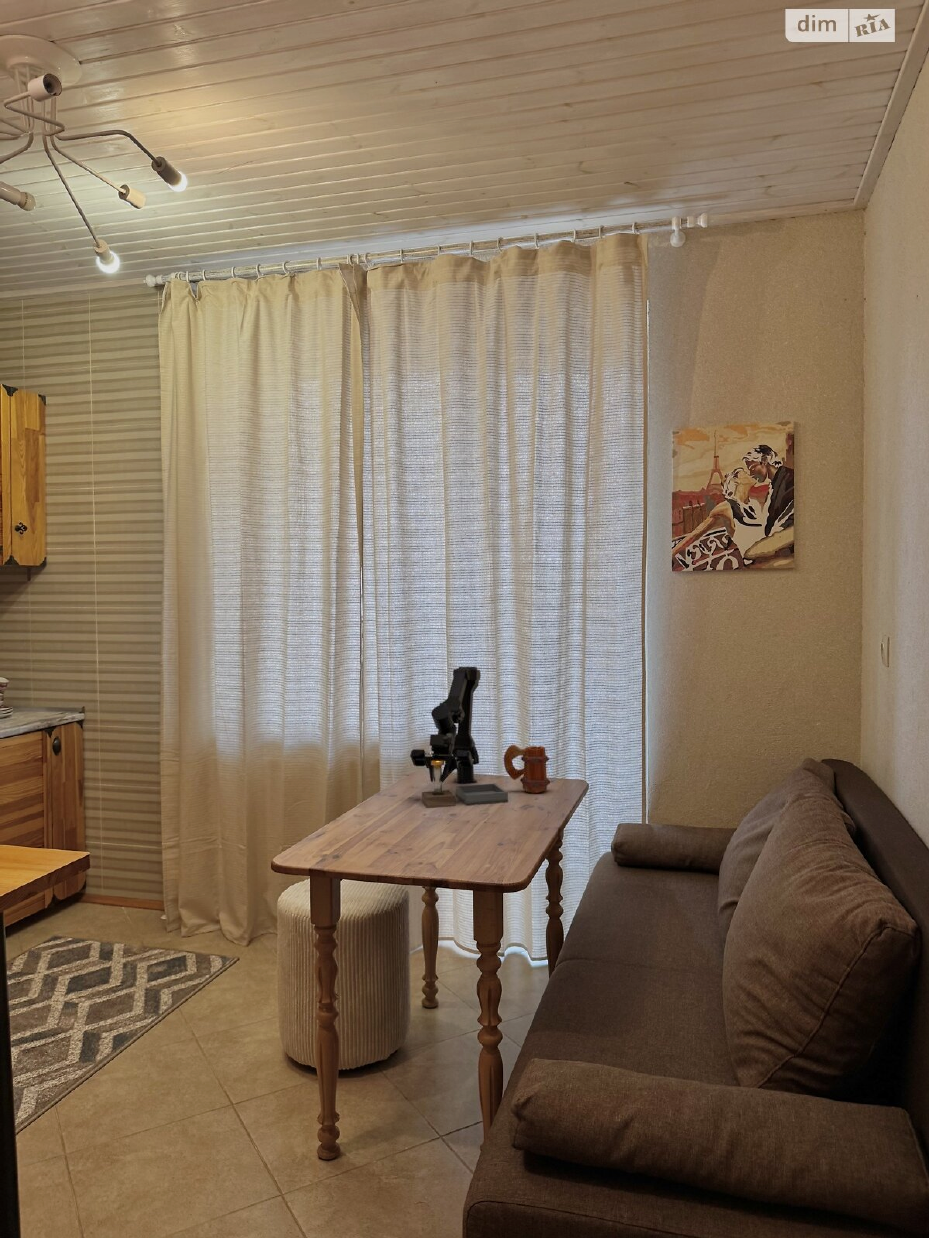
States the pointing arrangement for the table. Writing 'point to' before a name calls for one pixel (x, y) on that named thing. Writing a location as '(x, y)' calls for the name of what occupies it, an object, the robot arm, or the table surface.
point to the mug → (528, 767)
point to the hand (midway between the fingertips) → (436, 781)
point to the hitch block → (438, 799)
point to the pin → (437, 775)
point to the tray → (481, 794)
